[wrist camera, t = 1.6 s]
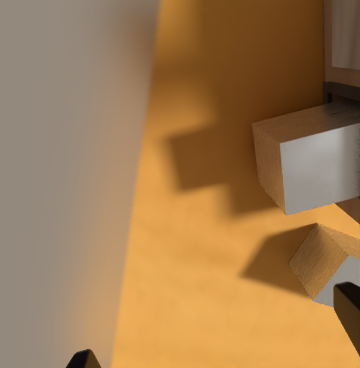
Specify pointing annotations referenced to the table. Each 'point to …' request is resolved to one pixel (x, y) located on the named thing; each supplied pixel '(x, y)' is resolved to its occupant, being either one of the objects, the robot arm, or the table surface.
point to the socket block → (342, 64)
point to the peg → (310, 156)
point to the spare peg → (326, 262)
